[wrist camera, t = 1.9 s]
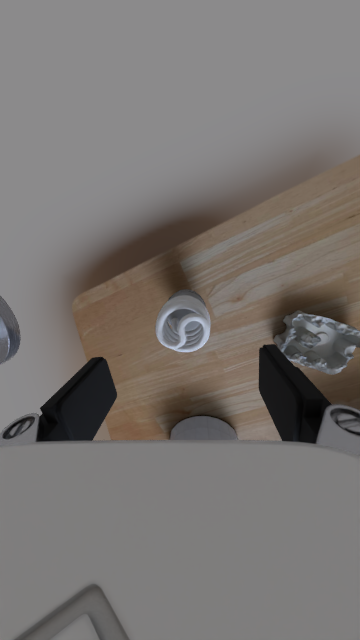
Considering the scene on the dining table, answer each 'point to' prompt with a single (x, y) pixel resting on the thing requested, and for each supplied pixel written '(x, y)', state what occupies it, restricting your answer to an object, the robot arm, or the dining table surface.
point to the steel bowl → (202, 429)
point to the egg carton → (318, 342)
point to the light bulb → (183, 322)
